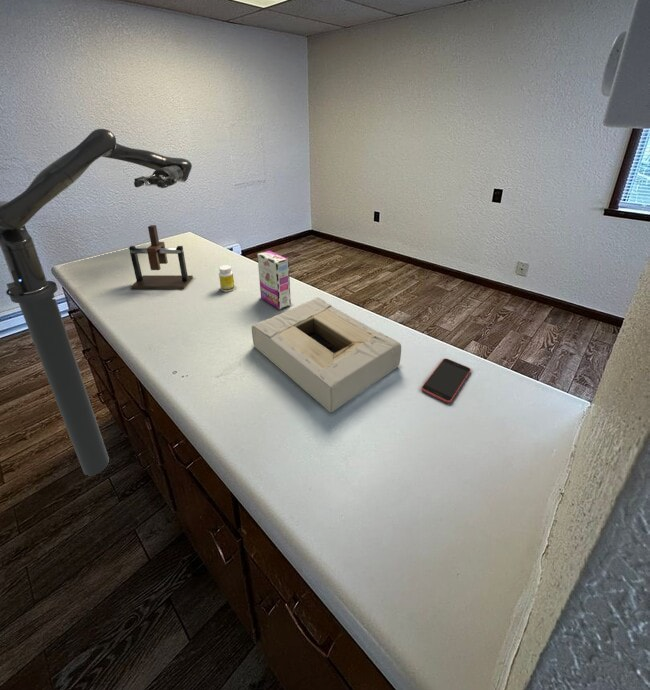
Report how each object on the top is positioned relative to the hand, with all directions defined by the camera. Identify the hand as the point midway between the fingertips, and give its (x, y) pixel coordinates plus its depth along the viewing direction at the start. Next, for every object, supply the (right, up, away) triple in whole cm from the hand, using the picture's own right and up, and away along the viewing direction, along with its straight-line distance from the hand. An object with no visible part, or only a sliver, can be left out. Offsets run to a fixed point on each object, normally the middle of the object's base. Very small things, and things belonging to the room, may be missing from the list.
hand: (147, 184), depth 132 cm
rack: (+6, -36, +1) cm, 37 cm away
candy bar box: (+49, -42, -12) cm, 66 cm away
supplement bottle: (+31, -38, -4) cm, 49 cm away
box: (+65, -53, -39) cm, 92 cm away
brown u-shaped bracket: (+6, -30, -2) cm, 31 cm away
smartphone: (+94, -56, -48) cm, 119 cm away
